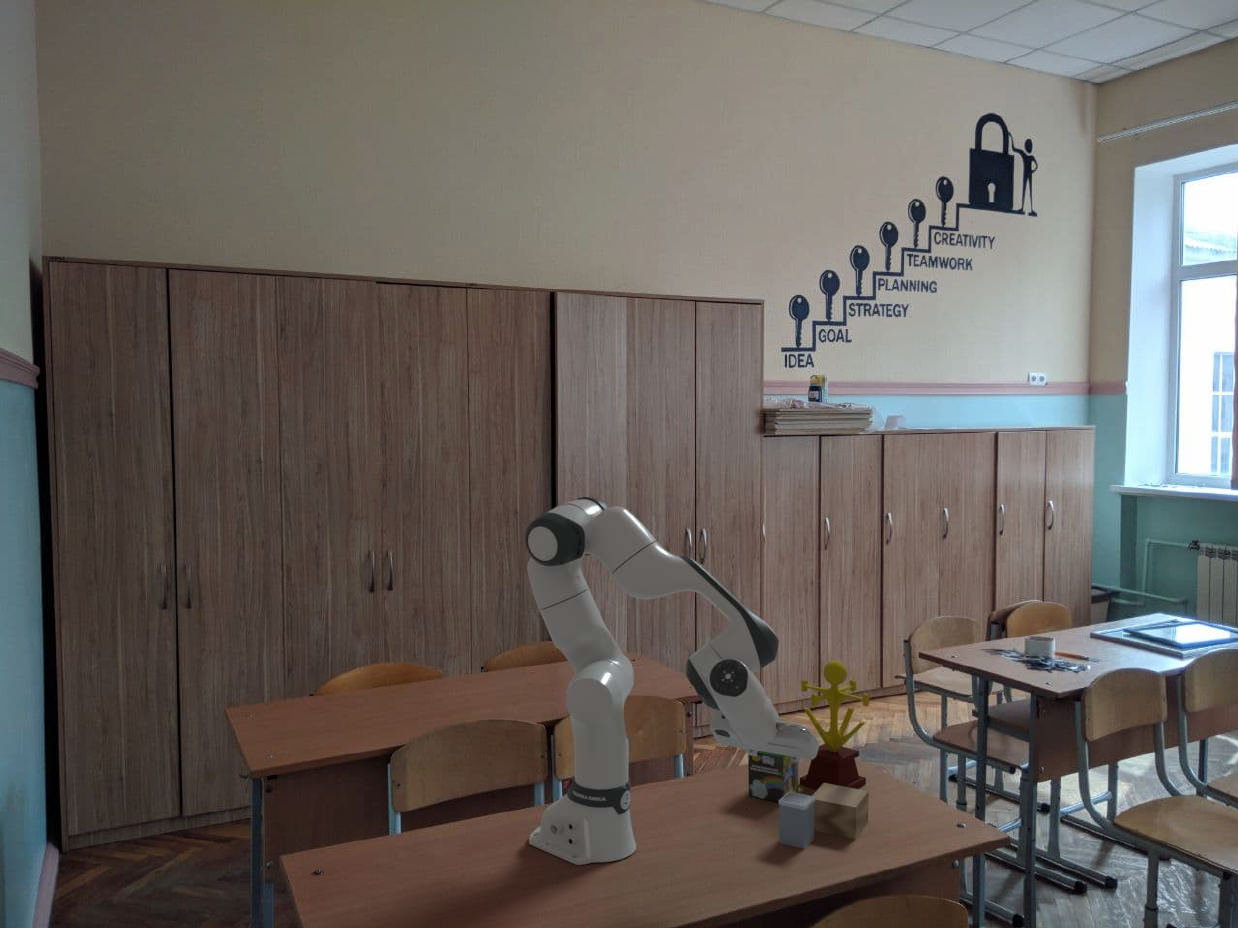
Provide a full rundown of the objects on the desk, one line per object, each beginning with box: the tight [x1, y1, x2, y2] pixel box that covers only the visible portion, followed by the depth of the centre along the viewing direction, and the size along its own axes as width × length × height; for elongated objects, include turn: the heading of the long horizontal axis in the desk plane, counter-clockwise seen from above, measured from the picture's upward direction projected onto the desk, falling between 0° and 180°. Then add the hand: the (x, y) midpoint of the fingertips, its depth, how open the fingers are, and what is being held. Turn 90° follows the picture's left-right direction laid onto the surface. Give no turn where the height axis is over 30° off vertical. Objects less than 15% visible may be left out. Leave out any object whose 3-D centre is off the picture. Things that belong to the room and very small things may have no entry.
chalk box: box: [747, 751, 799, 804], centre depth 230 cm, size 9×9×15 cm
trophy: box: [799, 660, 870, 791], centre depth 236 cm, size 14×16×30 cm
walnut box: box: [811, 783, 870, 840], centre depth 212 cm, size 10×10×7 cm
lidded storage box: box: [778, 791, 815, 850], centre depth 205 cm, size 6×6×9 cm
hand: (776, 756), depth 193 cm, fingers open, 8 cm apart
